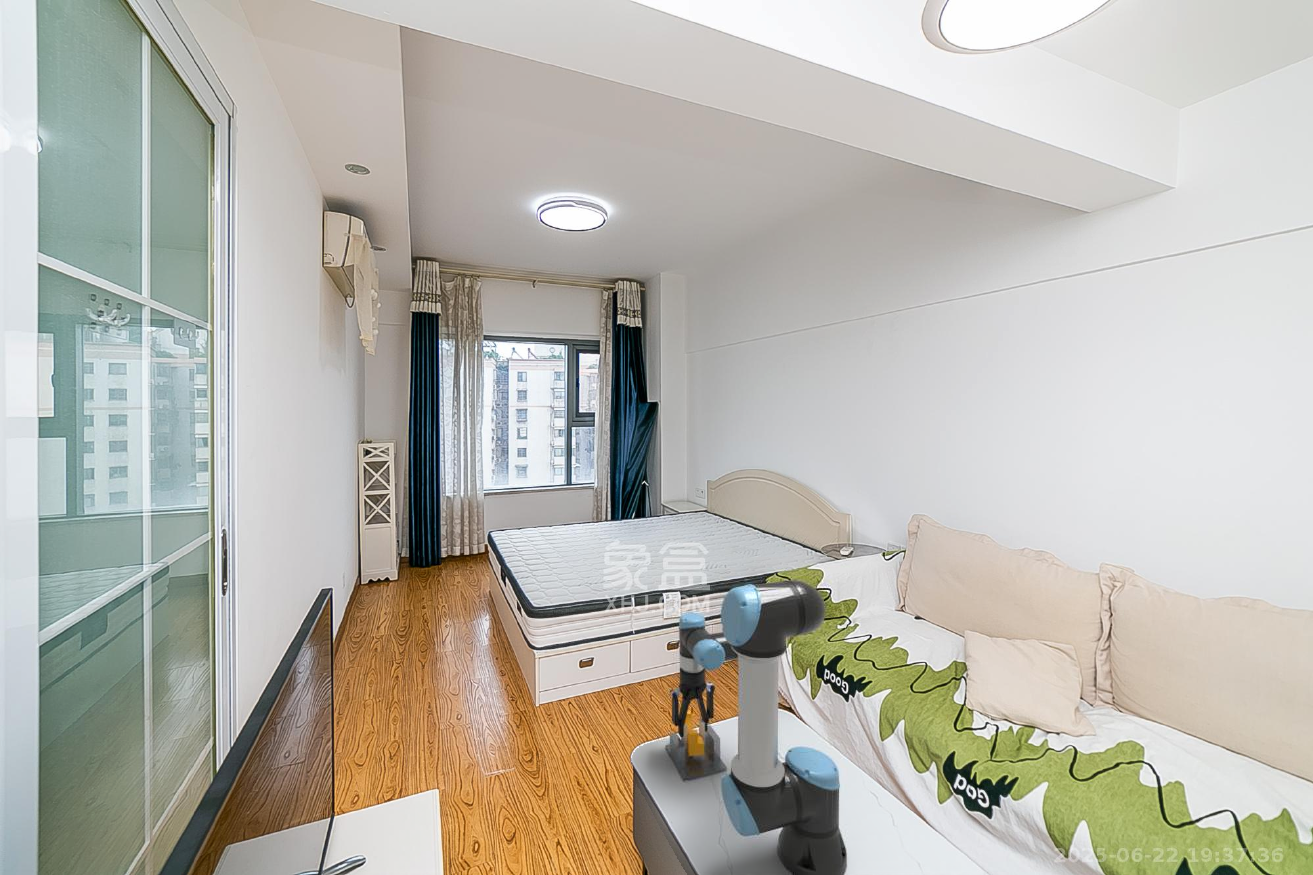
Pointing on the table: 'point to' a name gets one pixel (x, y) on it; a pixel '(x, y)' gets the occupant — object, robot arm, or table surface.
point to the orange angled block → (693, 738)
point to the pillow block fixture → (696, 757)
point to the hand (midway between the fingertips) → (693, 743)
